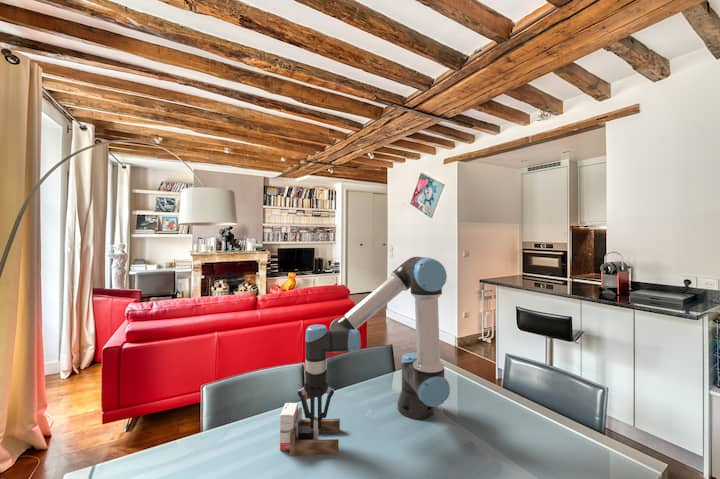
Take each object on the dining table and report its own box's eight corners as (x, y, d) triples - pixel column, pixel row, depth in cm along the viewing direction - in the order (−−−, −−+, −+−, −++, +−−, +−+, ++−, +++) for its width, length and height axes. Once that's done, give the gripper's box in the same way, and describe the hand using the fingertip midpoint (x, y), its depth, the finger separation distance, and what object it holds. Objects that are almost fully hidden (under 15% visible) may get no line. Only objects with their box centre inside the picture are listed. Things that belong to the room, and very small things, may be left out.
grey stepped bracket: (315, 432, 113) (315, 407, 113) (312, 449, 104) (312, 423, 104) (298, 432, 113) (298, 407, 113) (294, 450, 103) (294, 423, 103)
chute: (339, 429, 115) (339, 410, 115) (338, 454, 102) (338, 433, 102) (297, 430, 115) (297, 411, 115) (289, 455, 101) (290, 433, 101)
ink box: (294, 450, 103) (293, 415, 104) (279, 451, 103) (278, 415, 103) (299, 434, 112) (298, 401, 112) (285, 434, 112) (284, 402, 112)
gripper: (335, 365, 112) (335, 430, 112) (299, 365, 112) (299, 430, 112) (334, 374, 105) (333, 443, 105) (295, 374, 104) (295, 444, 104)
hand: (316, 436), depth 108 cm, fingers closed
